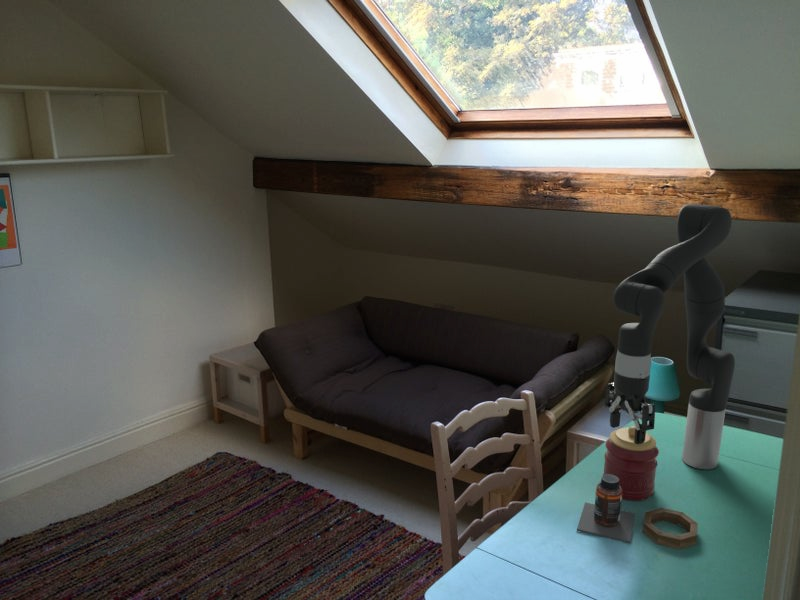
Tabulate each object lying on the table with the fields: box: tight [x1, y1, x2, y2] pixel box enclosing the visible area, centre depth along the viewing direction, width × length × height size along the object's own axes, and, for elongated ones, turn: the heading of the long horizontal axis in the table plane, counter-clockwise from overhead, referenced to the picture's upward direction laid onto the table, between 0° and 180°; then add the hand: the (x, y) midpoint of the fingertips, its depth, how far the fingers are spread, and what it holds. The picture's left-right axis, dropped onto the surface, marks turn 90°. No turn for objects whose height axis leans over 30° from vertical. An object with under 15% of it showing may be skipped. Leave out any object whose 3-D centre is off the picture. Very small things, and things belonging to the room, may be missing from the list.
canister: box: [602, 425, 660, 502], centre depth 178 cm, size 13×13×18 cm
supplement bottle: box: [594, 474, 623, 526], centre depth 164 cm, size 6×6×11 cm
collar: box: [642, 507, 699, 550], centre depth 162 cm, size 12×12×2 cm
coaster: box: [576, 501, 636, 544], centre depth 165 cm, size 12×12×1 cm
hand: (626, 434), depth 160 cm, fingers open, 8 cm apart
